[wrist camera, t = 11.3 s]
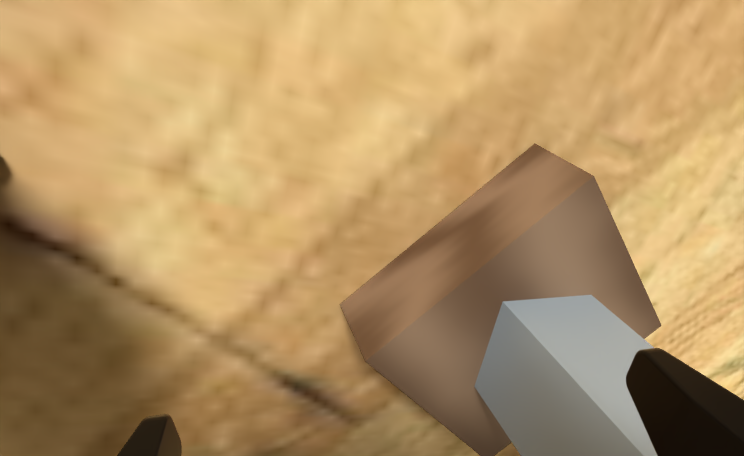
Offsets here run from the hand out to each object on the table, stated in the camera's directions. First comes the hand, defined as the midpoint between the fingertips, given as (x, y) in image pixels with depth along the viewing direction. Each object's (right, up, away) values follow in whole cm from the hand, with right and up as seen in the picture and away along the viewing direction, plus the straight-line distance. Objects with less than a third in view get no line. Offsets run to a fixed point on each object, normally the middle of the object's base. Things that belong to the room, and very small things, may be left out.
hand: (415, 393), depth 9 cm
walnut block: (+6, 0, +18) cm, 18 cm away
